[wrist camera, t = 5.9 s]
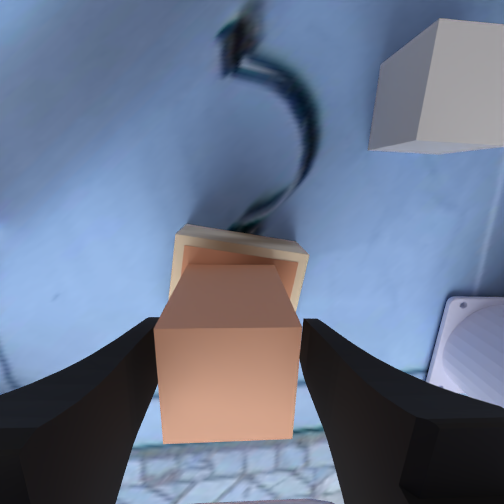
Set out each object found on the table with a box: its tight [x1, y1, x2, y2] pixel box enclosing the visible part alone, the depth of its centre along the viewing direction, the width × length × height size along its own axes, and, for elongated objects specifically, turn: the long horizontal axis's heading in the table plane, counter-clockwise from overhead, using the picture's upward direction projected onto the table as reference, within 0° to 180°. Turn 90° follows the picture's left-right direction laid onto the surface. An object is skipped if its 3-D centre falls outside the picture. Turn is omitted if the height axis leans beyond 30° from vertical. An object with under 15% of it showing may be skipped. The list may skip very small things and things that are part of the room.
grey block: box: [368, 18, 504, 155], centre depth 13 cm, size 4×4×4 cm
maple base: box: [169, 224, 309, 312], centre depth 16 cm, size 7×7×4 cm
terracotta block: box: [154, 264, 302, 444], centre depth 12 cm, size 4×4×6 cm
